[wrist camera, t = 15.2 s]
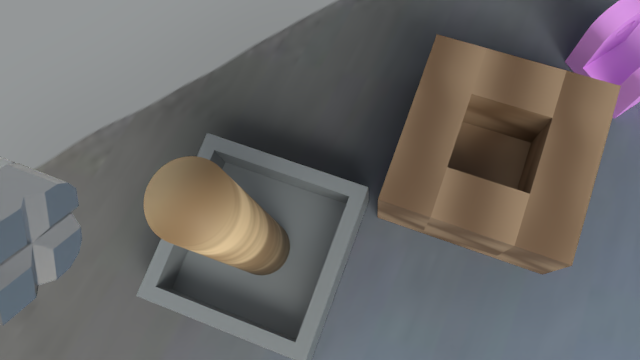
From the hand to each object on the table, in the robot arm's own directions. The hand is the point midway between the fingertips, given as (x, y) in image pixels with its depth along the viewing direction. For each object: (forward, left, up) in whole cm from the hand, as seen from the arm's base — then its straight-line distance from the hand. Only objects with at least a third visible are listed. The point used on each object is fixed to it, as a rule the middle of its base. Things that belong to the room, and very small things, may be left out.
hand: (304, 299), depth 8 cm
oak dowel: (+8, -2, -31) cm, 32 cm away
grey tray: (+8, -2, -32) cm, 33 cm away
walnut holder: (-5, -13, -32) cm, 35 cm away
